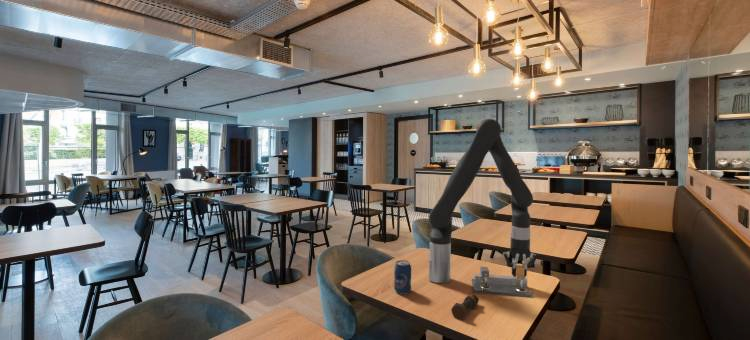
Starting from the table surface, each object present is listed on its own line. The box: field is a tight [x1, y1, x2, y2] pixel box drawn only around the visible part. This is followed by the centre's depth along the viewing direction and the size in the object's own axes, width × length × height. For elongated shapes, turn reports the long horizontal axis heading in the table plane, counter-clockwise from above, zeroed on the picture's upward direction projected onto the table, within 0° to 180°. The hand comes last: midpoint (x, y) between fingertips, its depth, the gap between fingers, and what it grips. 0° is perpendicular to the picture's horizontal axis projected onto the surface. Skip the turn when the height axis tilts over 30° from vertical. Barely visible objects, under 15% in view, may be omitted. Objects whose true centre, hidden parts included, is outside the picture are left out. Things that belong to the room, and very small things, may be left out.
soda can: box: [393, 260, 412, 295], centre depth 139 cm, size 7×7×12 cm
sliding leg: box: [515, 263, 525, 288], centre depth 142 cm, size 3×8×7 cm, turn 169°
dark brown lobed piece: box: [450, 294, 480, 321], centre depth 123 cm, size 6×5×15 cm
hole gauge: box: [471, 266, 533, 298], centre depth 142 cm, size 22×12×7 cm, turn 80°
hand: (518, 276), depth 143 cm, fingers closed on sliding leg, 3 cm apart
